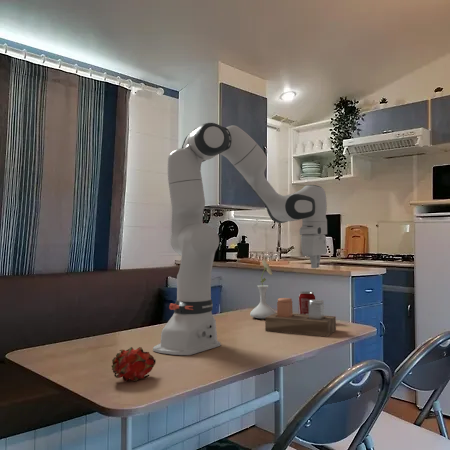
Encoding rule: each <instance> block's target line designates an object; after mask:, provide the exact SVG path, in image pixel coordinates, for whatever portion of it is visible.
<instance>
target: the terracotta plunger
mask: <svg viewBox="0 0 450 450" xmlns="http://www.w3.org/2000/svg"><path fill="white" fill-rule="evenodd" d="M276 307H277V309H276V311H277V312H276V313H277V317H288V318H290V317H292V316H293V314H294V313H293V299H292V298H290V297H281V298H277V302H276Z"/></svg>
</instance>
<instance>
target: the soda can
mask: <svg viewBox="0 0 450 450" xmlns="http://www.w3.org/2000/svg"><path fill="white" fill-rule="evenodd" d="M297 300H298V314H306V315H309V300H316V296H315V294H314V291H307V290H306V291H305V290H304V291H299V295H298V299H297Z"/></svg>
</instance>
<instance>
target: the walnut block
mask: <svg viewBox="0 0 450 450" xmlns="http://www.w3.org/2000/svg"><path fill="white" fill-rule="evenodd" d="M336 317H337V316H336V315H335V316H331V315H324V319H323V320H316V319H309V315H306V314H299V313H293V316H292V317H290V318H288V317H277V312H276V313H275V314H272V315H270V316H267V317H265V319H264V321H265V332H273V333H284V334H294V335H304V334H305V335H307V336H317V337H319V336H320V337H330V335H331V334H333V333H334V332H335V331H336V330H337V323H336V322H337V320H336Z"/></svg>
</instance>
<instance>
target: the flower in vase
mask: <svg viewBox="0 0 450 450" xmlns="http://www.w3.org/2000/svg"><path fill="white" fill-rule="evenodd" d="M261 260H262V261H261V263H262V265H263V267H264V269H263V271H262V274H261V276H260V278H261V280H260V283H261V284H260V285H258V284H257V285H256V286H257V288H258V291H259V297H260V298H259V300H260V301H259V303H258V305H256V306H255V307H254V308H253V309H252V310H251V311H250V312H249V313H250V314H249V315H250V317H252V318H256V319H261V320H263V319H264V320H265V317H267V316H270V315H272V314H275V313H277V312H276V311H275V310H274V309H273V308H272V307H271V306H270V305H269V304H268V303H267V301H266V299H267V297H266V295H267V291H268V289H269V285H267V284H266V285H265V284H263V283H265V282H266V281H267V279H266V278H265V277H263V275H264V272H265V271H266V272H267V273H268V274H269V275H270V276H273V275H274V274H273V270H272V269H271V267H270V264H268V263H267V261H266V260H264V259H261Z"/></svg>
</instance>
